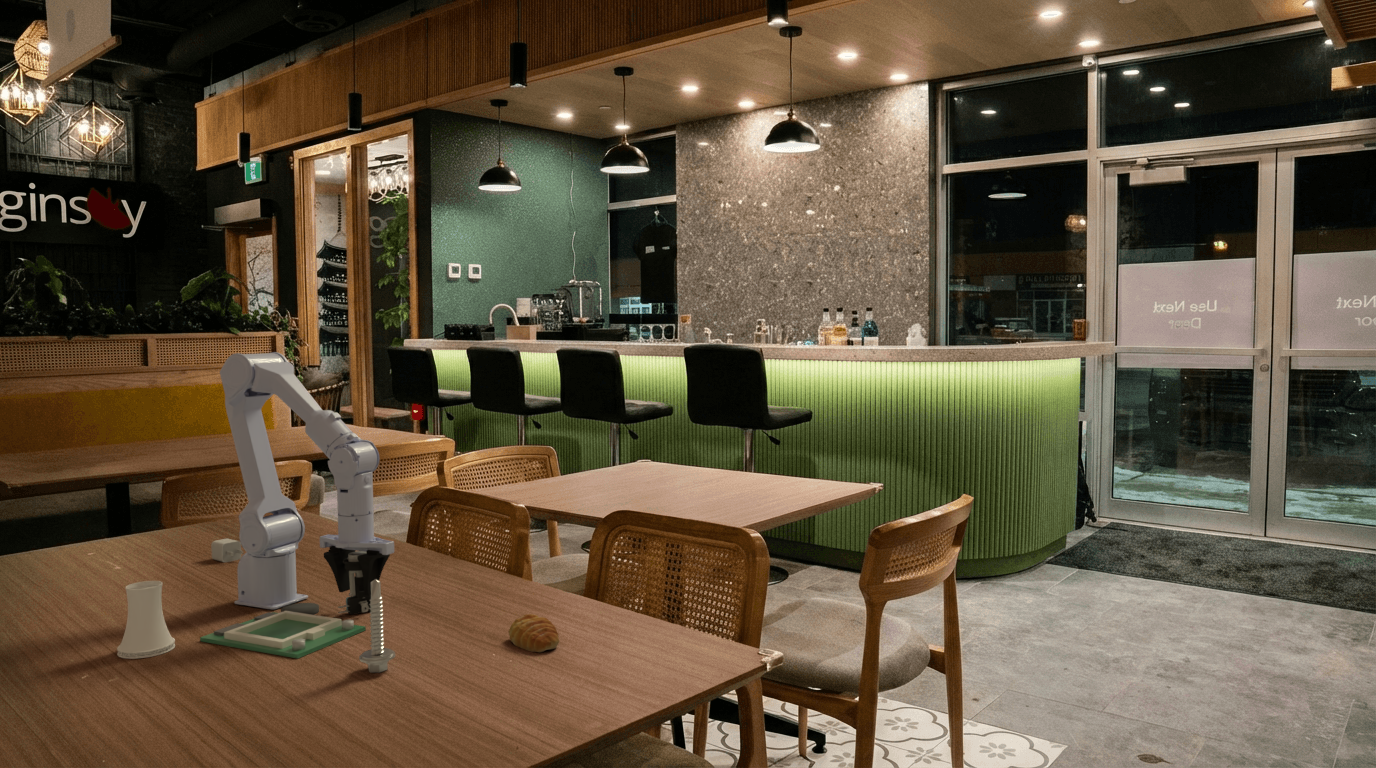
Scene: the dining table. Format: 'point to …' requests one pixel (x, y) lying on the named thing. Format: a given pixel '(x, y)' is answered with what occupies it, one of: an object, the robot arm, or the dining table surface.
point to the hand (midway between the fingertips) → (357, 592)
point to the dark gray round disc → (302, 608)
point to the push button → (355, 586)
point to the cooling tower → (145, 622)
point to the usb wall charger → (226, 550)
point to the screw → (376, 634)
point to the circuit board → (285, 633)
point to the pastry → (533, 633)
